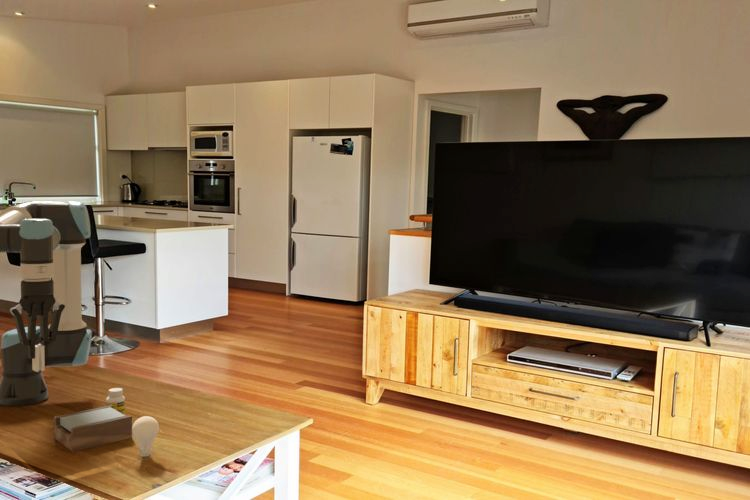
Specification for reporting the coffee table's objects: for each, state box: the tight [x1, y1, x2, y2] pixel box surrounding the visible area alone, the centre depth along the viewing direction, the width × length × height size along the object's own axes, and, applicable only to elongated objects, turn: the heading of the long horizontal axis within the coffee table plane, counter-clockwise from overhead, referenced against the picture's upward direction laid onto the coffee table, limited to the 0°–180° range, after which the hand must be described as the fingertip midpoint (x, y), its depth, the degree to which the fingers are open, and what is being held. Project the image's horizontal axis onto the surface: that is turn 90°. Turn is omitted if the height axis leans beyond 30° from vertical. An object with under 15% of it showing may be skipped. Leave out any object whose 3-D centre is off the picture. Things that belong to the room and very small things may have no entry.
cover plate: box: [60, 407, 126, 432], centre depth 187 cm, size 10×14×2 cm
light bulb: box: [132, 415, 160, 459], centre depth 177 cm, size 7×7×11 cm
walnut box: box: [53, 405, 133, 453], centre depth 187 cm, size 13×16×7 cm
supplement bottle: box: [105, 387, 126, 416], centre depth 203 cm, size 5×5×10 cm
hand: (38, 369), depth 176 cm, fingers closed
